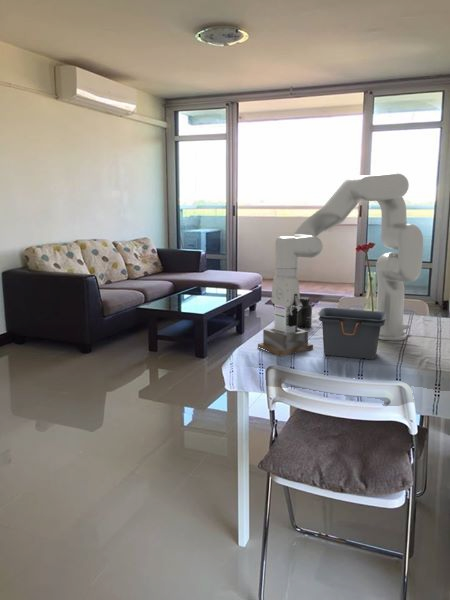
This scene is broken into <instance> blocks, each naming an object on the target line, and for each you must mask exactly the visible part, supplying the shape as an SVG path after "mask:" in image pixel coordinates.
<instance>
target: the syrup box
mask: <svg viewBox="0 0 450 600" xmlns="http://www.w3.org/2000/svg"><path fill="white" fill-rule="evenodd" d="M292 310H294V308H292ZM289 315H290V312H289V308H288V307H284V306H280V305H277V304H275V310H274V327H275V332H277V333H280V334H283V335H285V334H290V333H295V332H297V328H298V327H297V325H296V326H291V327H290V326H289Z"/></svg>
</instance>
